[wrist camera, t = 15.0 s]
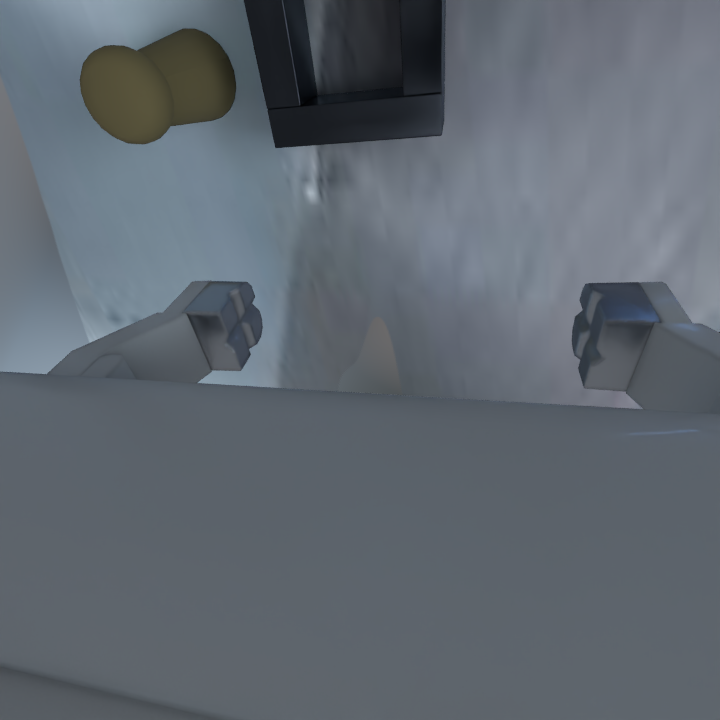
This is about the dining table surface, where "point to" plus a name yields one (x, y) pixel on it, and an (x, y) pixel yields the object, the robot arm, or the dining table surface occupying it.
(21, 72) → the dining table surface
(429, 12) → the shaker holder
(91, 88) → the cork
